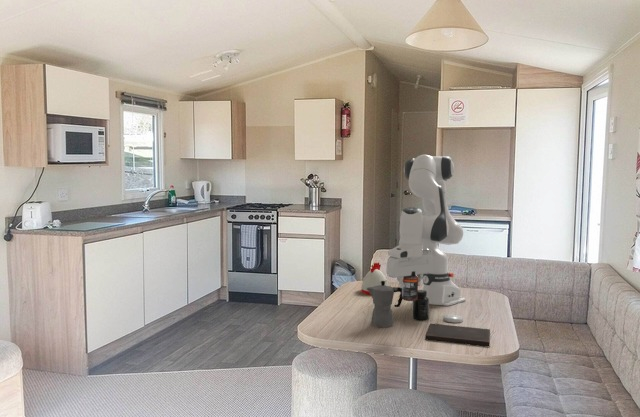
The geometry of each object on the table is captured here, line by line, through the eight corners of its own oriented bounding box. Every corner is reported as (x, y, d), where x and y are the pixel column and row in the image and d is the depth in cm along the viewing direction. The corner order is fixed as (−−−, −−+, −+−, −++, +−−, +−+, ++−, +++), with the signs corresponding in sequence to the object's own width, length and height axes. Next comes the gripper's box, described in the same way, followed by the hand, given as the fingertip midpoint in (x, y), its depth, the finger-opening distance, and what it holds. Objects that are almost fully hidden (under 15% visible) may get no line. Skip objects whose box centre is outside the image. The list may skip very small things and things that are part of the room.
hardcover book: (429, 328, 216) (429, 323, 216) (489, 335, 209) (489, 329, 209) (424, 341, 201) (425, 335, 200) (489, 348, 194) (489, 342, 193)
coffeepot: (365, 326, 216) (366, 282, 214) (366, 320, 225) (367, 277, 224) (404, 328, 214) (405, 284, 212) (403, 321, 223) (404, 279, 222)
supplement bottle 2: (429, 317, 230) (430, 289, 229) (427, 321, 223) (428, 293, 222) (413, 315, 232) (414, 288, 231) (411, 320, 226) (411, 292, 224)
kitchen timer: (393, 291, 275) (394, 262, 274) (378, 296, 265) (378, 266, 263) (371, 287, 284) (372, 259, 283) (355, 292, 274) (356, 263, 273)
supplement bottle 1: (409, 296, 209) (410, 268, 208) (420, 300, 204) (421, 270, 203) (398, 298, 206) (399, 269, 205) (409, 302, 201) (410, 272, 200)
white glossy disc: (453, 316, 232) (453, 313, 232) (467, 321, 225) (467, 318, 225) (439, 318, 228) (439, 316, 228) (452, 323, 221) (452, 321, 221)
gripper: (426, 247, 211) (425, 282, 212) (384, 251, 201) (383, 287, 202) (437, 249, 206) (436, 285, 207) (394, 254, 196) (394, 291, 197)
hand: (409, 286), depth 205 cm, fingers closed on supplement bottle 1, 6 cm apart
